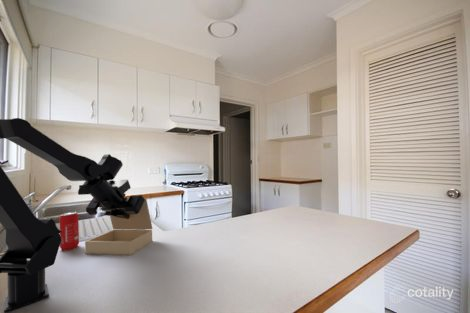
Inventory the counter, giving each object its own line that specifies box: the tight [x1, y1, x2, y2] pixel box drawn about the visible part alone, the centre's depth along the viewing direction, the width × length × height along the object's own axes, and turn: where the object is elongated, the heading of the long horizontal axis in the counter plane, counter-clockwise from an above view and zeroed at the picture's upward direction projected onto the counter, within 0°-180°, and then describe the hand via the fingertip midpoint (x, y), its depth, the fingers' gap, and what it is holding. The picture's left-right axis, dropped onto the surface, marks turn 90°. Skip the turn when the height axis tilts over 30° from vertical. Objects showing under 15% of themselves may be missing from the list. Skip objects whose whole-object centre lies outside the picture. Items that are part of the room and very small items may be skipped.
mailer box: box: [84, 229, 153, 256], centre depth 72 cm, size 12×16×4 cm
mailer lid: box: [109, 197, 153, 230], centre depth 77 cm, size 12×16×1 cm
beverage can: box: [58, 211, 80, 252], centre depth 74 cm, size 5×5×12 cm
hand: (128, 217), depth 76 cm, fingers closed
